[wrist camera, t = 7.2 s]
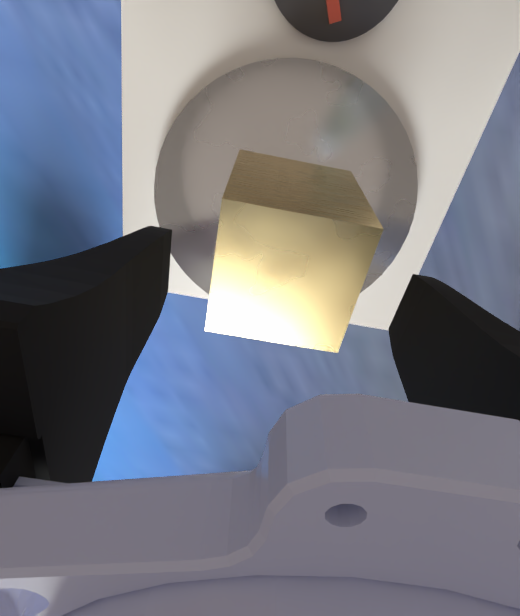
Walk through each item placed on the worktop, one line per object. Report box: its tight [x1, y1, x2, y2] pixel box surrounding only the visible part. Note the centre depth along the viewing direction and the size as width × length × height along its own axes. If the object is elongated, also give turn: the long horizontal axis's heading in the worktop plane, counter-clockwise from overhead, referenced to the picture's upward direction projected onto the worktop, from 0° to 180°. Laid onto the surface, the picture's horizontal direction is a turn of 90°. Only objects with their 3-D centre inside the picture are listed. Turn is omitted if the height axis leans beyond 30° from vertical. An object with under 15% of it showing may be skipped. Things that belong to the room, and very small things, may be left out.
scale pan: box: [154, 58, 418, 294], centre depth 17 cm, size 11×11×1 cm
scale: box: [121, 0, 520, 330], centre depth 17 cm, size 14×17×2 cm
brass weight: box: [205, 149, 383, 353], centre depth 15 cm, size 4×4×6 cm
